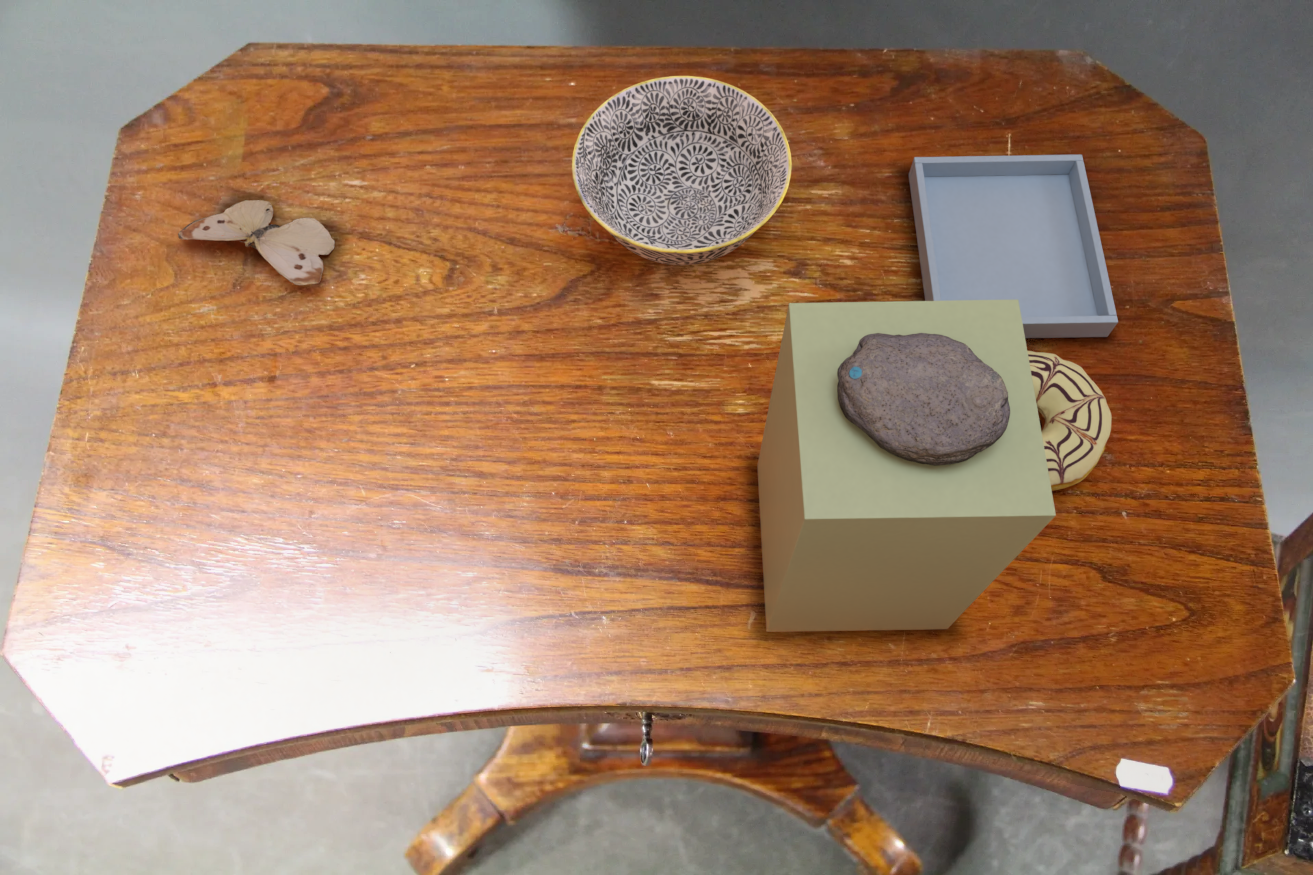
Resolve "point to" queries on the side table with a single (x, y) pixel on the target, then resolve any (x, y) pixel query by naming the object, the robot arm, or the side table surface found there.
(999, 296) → the tray
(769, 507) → the stand
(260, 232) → the butterfly
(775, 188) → the bowl
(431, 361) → the side table surface
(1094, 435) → the decorated donut
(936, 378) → the stone
